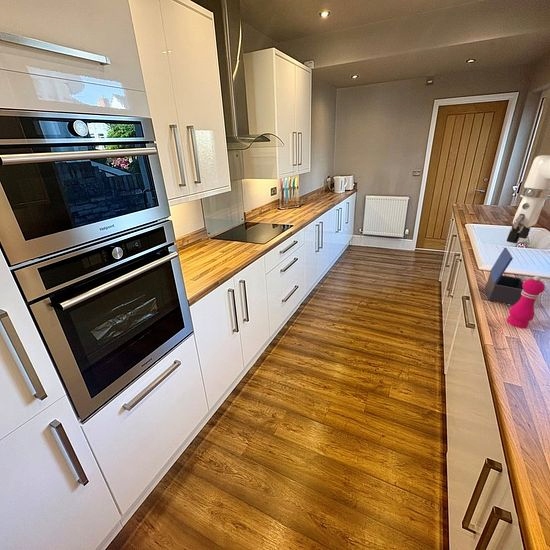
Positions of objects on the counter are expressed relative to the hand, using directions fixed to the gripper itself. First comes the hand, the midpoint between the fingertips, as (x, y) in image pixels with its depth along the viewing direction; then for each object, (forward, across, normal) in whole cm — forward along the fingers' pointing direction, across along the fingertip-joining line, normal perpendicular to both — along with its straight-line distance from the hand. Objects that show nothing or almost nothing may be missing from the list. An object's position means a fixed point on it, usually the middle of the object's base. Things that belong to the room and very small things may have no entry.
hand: (516, 239), depth 109 cm
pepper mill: (+29, -6, -11) cm, 32 cm away
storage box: (+29, +13, 0) cm, 32 cm away
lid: (+15, +11, +4) cm, 19 cm away
